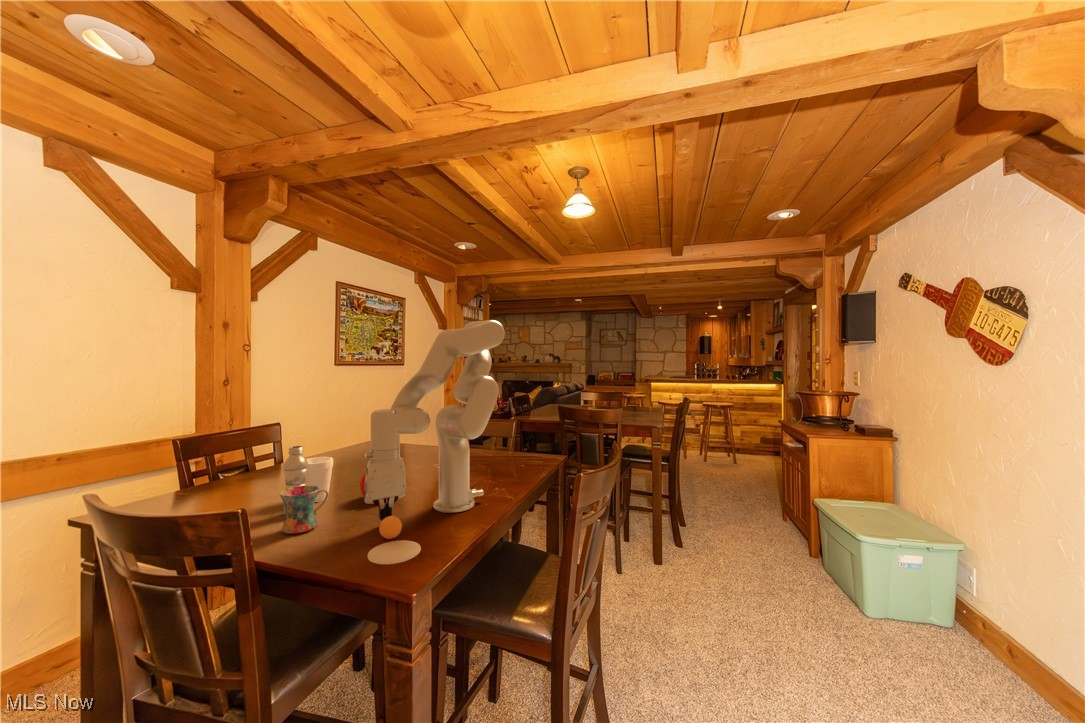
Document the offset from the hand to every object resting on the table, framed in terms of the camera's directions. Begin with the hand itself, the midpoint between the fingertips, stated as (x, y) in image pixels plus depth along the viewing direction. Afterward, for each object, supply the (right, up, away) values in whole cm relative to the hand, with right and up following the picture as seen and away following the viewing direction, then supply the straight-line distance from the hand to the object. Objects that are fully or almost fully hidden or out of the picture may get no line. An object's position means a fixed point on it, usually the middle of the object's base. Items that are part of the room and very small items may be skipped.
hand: (385, 521), depth 114 cm
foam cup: (-31, -2, +22) cm, 38 cm away
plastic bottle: (-30, -2, +9) cm, 31 cm away
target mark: (+8, -2, -15) cm, 17 cm away
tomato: (-11, -2, +23) cm, 26 cm away
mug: (-22, -2, -1) cm, 22 cm away
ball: (+4, +1, -7) cm, 9 cm away
